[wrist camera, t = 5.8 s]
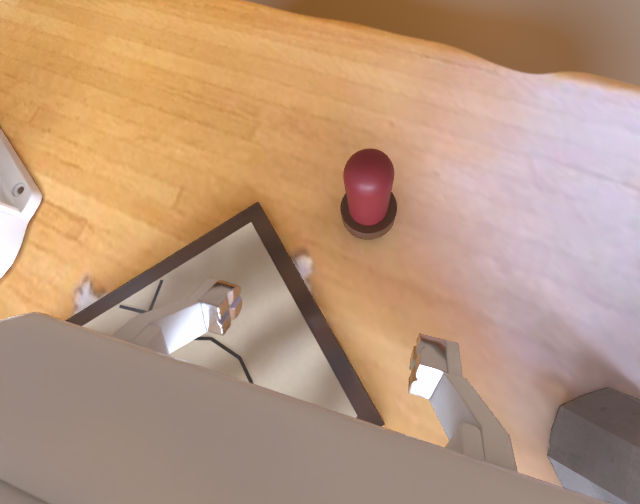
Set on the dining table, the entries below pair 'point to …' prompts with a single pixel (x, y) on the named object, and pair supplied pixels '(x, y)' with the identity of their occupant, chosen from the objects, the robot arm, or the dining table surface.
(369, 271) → the dining table surface
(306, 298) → the drawing board
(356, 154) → the dot stamp
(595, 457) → the coffeepot
